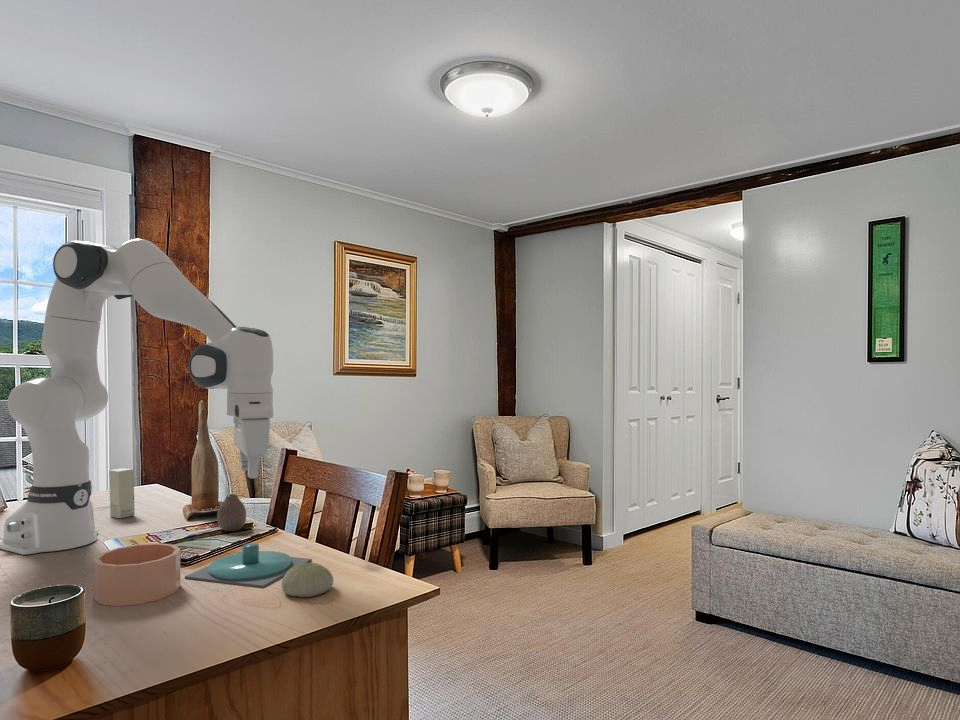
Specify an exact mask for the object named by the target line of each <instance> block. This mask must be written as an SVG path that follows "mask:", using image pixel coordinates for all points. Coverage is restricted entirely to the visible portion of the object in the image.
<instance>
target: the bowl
mask: <svg viewBox="0 0 960 720" xmlns="http://www.w3.org/2000/svg"><path fill="white" fill-rule="evenodd" d="M180 587H181V548H179V547H178V546H177V545H175V544H169V543H162V542H161V543H160V542H157V543H156V542H155V543H154V542H153V543H138V544H133V545H132V544H131V545H127V546H122V547H120V546H119V547H116V548H114V549H110V550H108V551H104V552H102V553H99V554H98V555H97V556H96V557H95V558H93V600H95V602H96V603H97V604H98V605H103V606H109V607H110V606H112V607H122V606H124V607H125V606H135V605H136V606H138V605H143V604H146V603H151V602H155V601H159V600H162V599H164V598H166V597H169V596H171V595H172V594H175V593H177V591H179V588H180Z"/></svg>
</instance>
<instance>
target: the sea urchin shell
mask: <svg viewBox="0 0 960 720" xmlns="http://www.w3.org/2000/svg"><path fill="white" fill-rule="evenodd" d="M333 585H334V576H333V574H332V573H331V572H330V570H329V569H328V568H327V567H326V566H324V565H322V564H319V563H316V562H309V563H302V564H297V565H295V566H293V567H291V569H289V570H288V571H287V572H286V574H285V575H284V576H283V577H282V580H281V588H282V591H283V592H284V594H286V595H287V596H290V597H291V596H292V597H297V596H298V598H311V597H314V596H320V595H321V594H324V593H326V592H328V591H329V590H330V589H331V588H332V586H333Z"/></svg>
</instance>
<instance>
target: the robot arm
mask: <svg viewBox="0 0 960 720" xmlns="http://www.w3.org/2000/svg"><path fill="white" fill-rule="evenodd" d="M52 261H53V262H52V267H53V272H54V275H55V277H56V278H55V280H54V282H53V285H52V287H51V290H50V293H49V297H48V301H47V304H46V310H45V317H44V323H43V330H42V335H41V342H40V348H41V350H42V352H43V354H44V355H45V356H46V357H47V359H48V361H49V366H50V371H51V372H50V373H51V376H50V377H38V378H34V379H30V380H27V381H25V382H22V383H20V384H18V385H16V386H15V387H14V388H13V389H12V390H11V391H10V393H9V395H8V397H7V409H8V413H9V414H10V416H11V418H12V419H13V420H14V421H15V422H17V423H18V424H19V425H20V426H21V427H22V429H23V430H24V433H25V434H26V437H27V439H28V442H29V445H30V448H31V455H32V457H31V458H32V485H31V486H28V487H24V490H25V491H24V492H23V493H24V494H28V495H27V498H26V502H24V504H22V505H21V506H20V507H19V508H18V509H16V510H15V511H14V512H12V513H11V514H10V515H9V516H8V517H7V518H6V519H5V521H4V524H3V526H4V527H3V536H1V537H0V550H4V551H8V552H12V553H15V554H20V555H32V554H39V553H44V552H45V553H47V552H57V551H62V550H63V551H64V550H69V549H75V548H79V547H83V546H86V545H89V544H92V543H93V542H96V541H97V539H98V534H99V529H98V528H96V524H95V514H94V506H93V502H92V500H91V496H92V489H93V488H92V487H93V485H92V481H91V479H90V450H89V448H88V446H87V445H86V443H84V442H83V441H82V440H81V439H80V436H79V433H78V430H77V425H76V423H77V422H82V421H86V420H88V419H91V418H93V417H95V416H96V415H99V414H100V413H101V412H103V411H104V410H105V408H106V407H107V405H108V402H109V392H108V390H107V387H106V386H105V385H104V384H103V382H102V381H101V377H100V374H99V368H98V361H97V360H98V359H97V357H98V356H97V354H98V353H97V350H98V343H99V335H100V328H101V321H102V315H103V314H102V313H103V307H104V303H105V301H106V300H108V298H111V297H114V298H115V299H116V300H123V299H127V298H133V299H135V301H136V302H137V304H138V305H139V306H140V307H141V308H142V309H144V310H145V311H146V312H147V313H148V314H149V315H152V316H153V317H154V318H158V319H160V320H161V319H162V320H165V321H168V322H174V323H179V324H182V325H186V326H188V327H191V328H194V329H196V330H198V331H199V332H201V333H202V334H204V335H205V336H206V337H207V338H208V339H209V340H210V341H211V342H208V343H205V344H200V345H198V346H196V348H195V349H194V350H193V351H192V352H191V354H190V357H189V360H188V372H189V376H190V378H191V379H192V381H193V382H194V384H195V385H196V386H197V387H200V388H203V389H208V390H217V389H218V390H219V389H220V390H221V389H222V390H226V391H227V392H226V394H227V395H226V398H227V399H226V415H227V416H228V417H229V416H230V417H233V421H232V422H233V424H234V428H233V430H234V434H233V442H234V446H235V447H236V448H237V449H238V450H239V459H240V469H241V471H247V477H248V478H249V480H250V479H257V478H258V477H259V468H260V467H259V466H260V462H261V458H265V457H266V456H267V454H268V450H269V443H270V442H269V441H270V439H269V438H270V431H271V430H270V427H271V420H270V419H273V417H274V407H273V397H274V394H273V392H274V389H273V386H272V376H273V372H274V350H273V343H272V338H271V336H270V334H269V333H268V332H266V331H265V330H264V329H263V330H262V329H258V328H255V327H253V328H252V327H247V326H237V325H235V323H233V321H232V320H231V319H230V318H229V316H227V315H226V314H225V313H224V312H223V311H222V309H220V308H219V307H218V306H217V305H216V304H215V303H214V302H213V301H212V300H210V298H208V297H207V296H206V295H204V294H203V293H202V291H200V290H199V289H198V288H196V287H195V286H194V284H193V283H192V282H191V281H190V280H189V279H187V278H186V276H185V275H184V274H183V273H182V272H181V270H180V269H179V268H178V267H177V265H176V263H174V262H173V261H172V260H171V258H170V257H169V256H168V254H166V253H165V252H164V251H163V250H162V249H160V247H159V246H157V245H156V244H155V243H154V242H151V241H150V240H147V239H144V238H134V239H130V240H127V241H125V242H124V243H122V244H121V245H120V246H119V247H117V246H113V245H105V244H100V243H93V242H90V241H86V240H84V241H83V240H71V241H67V242H65V243H63V244H61V246H59V247H58V249H57V250H56V252H55V253H54V256H53V260H52Z"/></svg>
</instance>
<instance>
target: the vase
mask: <svg viewBox="0 0 960 720" xmlns="http://www.w3.org/2000/svg"><path fill="white" fill-rule="evenodd" d="M222 502H223V503H222V504H221V505H220V507H219V506H218V507H219V509H218V510H217V513H216V520H217V524H218V526H219V528H220V529H221V530H222V531H223V530H225V531H224V532H226V531H232V532H238V531H240V530H241V529H242V528H243V526H244V525H245V523H246V521H247V510H246V506H245V504H244V503H243V501H242V500H240V499H239V497H238V494H235V493H229V494H227V495H226V497H225V499H224V500H223V501H222Z"/></svg>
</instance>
